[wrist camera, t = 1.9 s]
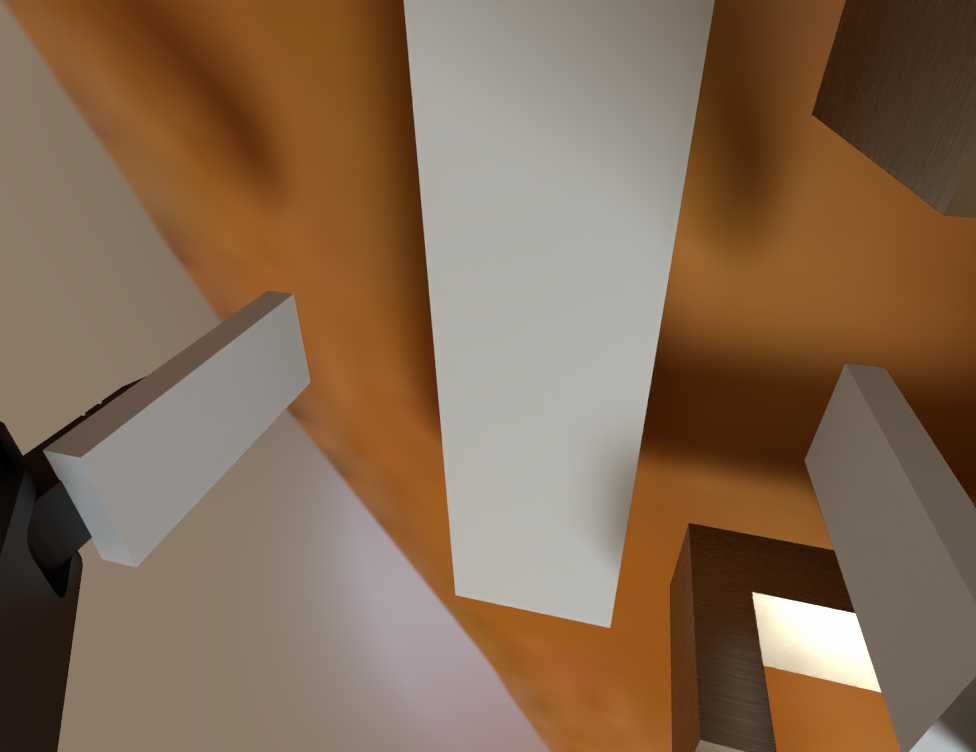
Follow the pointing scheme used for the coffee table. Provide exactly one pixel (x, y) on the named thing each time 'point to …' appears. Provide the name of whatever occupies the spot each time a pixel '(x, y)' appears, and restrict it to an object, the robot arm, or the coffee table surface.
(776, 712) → the coffee table surface
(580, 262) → the rail
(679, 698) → the cup bracket
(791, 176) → the coffee table surface
